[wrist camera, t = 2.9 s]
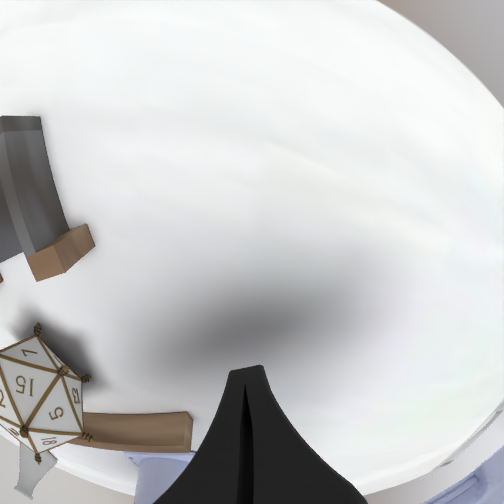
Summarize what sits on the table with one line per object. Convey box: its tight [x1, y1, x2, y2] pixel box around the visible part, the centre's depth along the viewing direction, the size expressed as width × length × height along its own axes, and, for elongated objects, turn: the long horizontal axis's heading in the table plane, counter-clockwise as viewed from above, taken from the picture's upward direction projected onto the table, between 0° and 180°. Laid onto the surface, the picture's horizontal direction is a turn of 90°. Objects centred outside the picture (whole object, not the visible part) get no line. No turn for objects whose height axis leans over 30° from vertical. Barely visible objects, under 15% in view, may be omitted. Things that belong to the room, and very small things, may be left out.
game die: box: [0, 323, 96, 465], centre depth 11 cm, size 9×8×10 cm
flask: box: [14, 442, 57, 500], centre depth 17 cm, size 7×7×10 cm
